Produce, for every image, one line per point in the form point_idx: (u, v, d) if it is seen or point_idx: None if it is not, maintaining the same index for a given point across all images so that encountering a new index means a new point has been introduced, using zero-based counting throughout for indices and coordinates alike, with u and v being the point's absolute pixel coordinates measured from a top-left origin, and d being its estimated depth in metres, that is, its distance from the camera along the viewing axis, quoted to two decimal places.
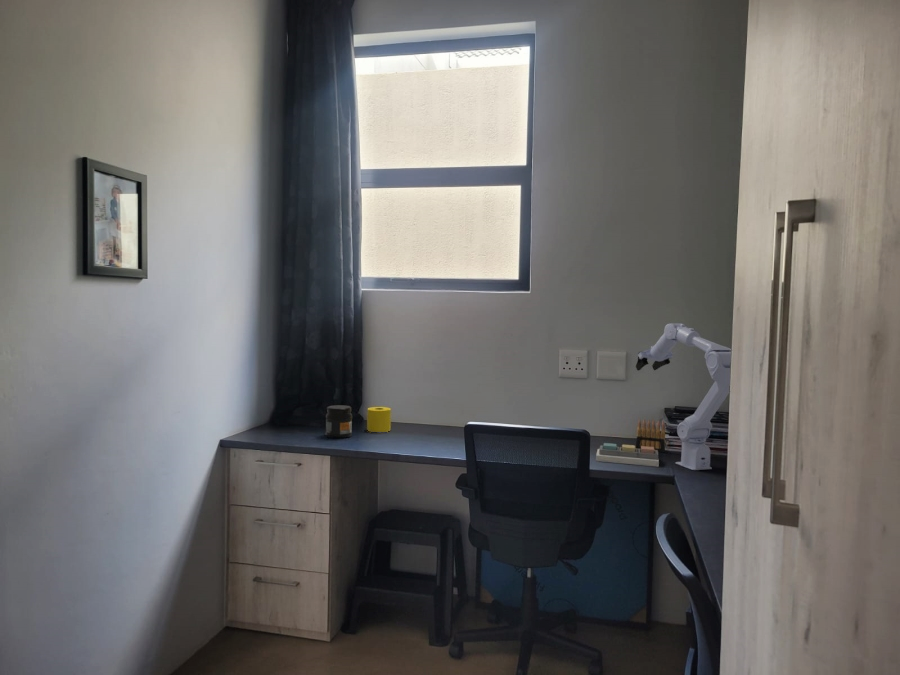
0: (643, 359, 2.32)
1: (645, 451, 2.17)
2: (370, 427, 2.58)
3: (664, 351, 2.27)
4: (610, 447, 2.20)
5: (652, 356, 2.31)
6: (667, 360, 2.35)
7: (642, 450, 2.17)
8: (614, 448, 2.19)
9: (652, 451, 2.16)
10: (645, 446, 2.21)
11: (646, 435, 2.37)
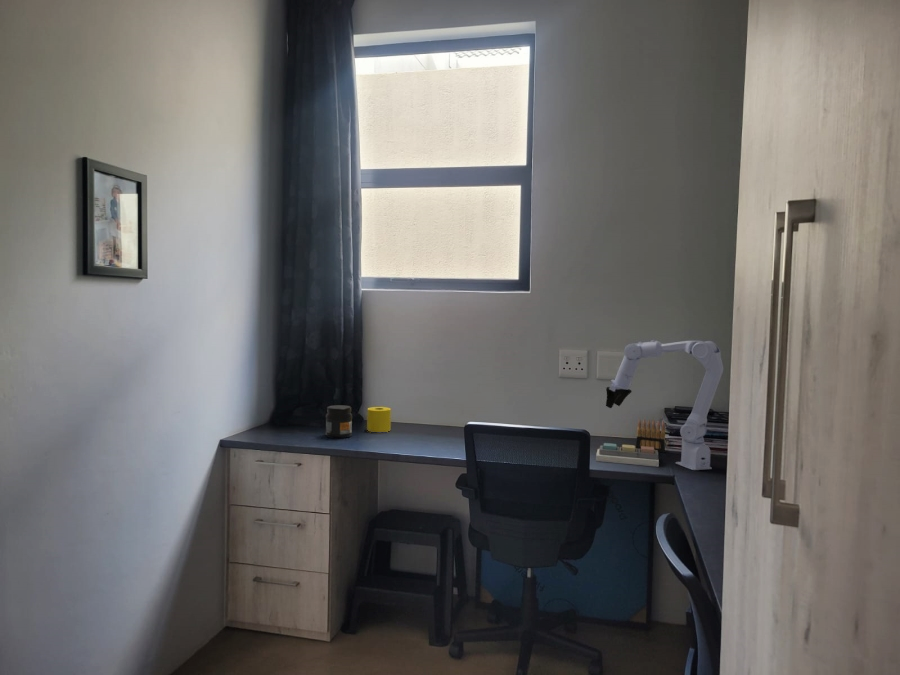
0: (615, 391, 2.26)
1: (645, 451, 2.17)
2: (370, 427, 2.58)
3: (631, 375, 2.27)
4: (610, 447, 2.20)
5: (621, 386, 2.27)
6: (628, 389, 2.34)
7: (642, 450, 2.17)
8: (614, 448, 2.19)
9: (652, 451, 2.16)
10: (645, 446, 2.21)
11: (646, 435, 2.37)
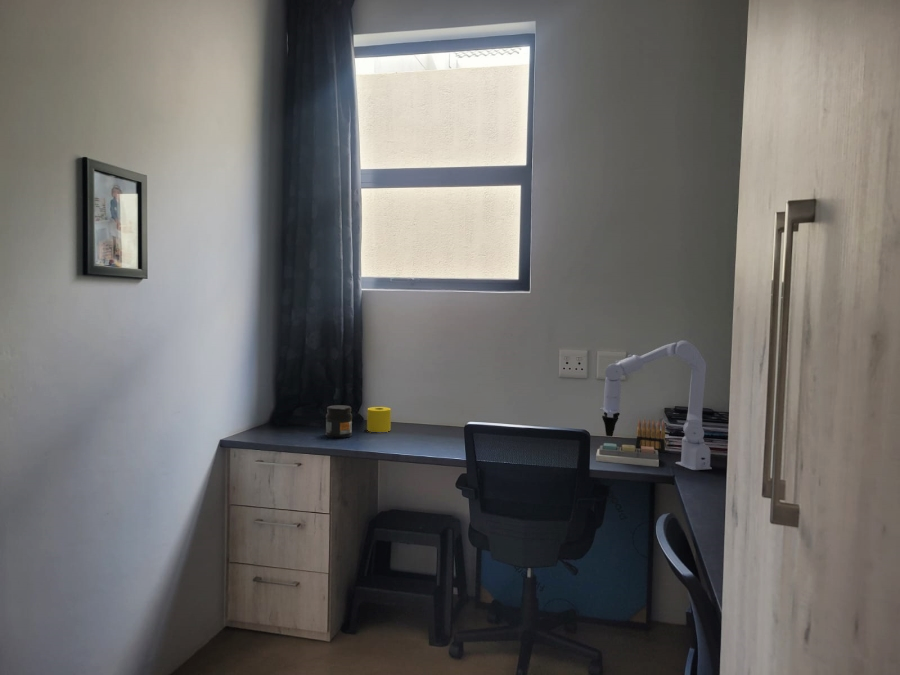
0: (613, 417, 2.17)
1: (645, 451, 2.17)
2: (370, 427, 2.58)
3: (619, 396, 2.20)
4: (610, 447, 2.20)
5: (614, 410, 2.19)
6: None
7: (642, 450, 2.17)
8: (614, 448, 2.19)
9: (652, 451, 2.16)
10: (645, 446, 2.21)
11: (646, 435, 2.37)
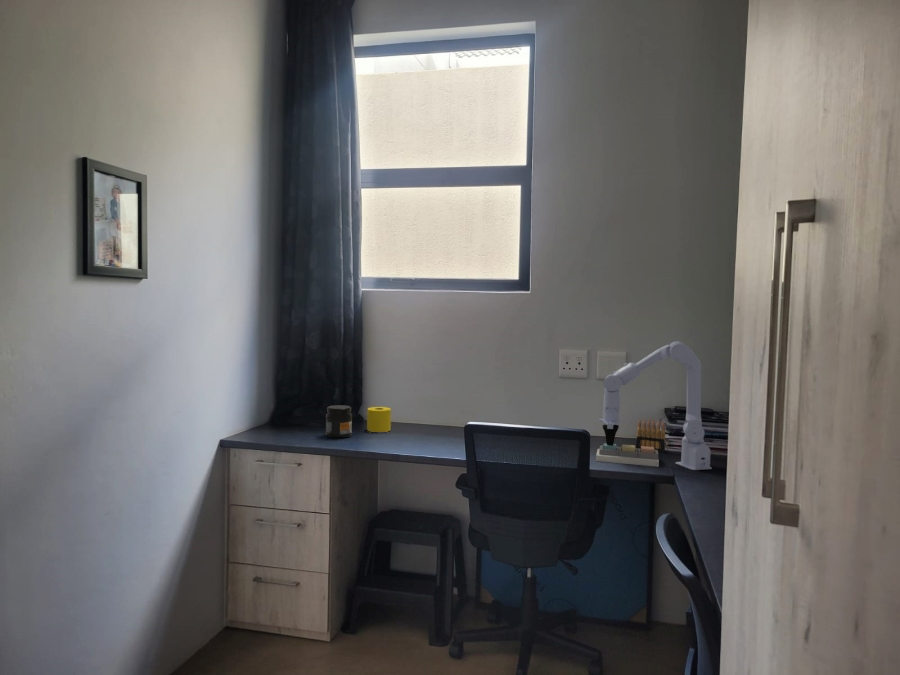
0: None
1: (645, 451, 2.17)
2: (370, 427, 2.58)
3: (618, 407, 2.20)
4: (610, 447, 2.20)
5: (614, 421, 2.19)
6: None
7: (642, 450, 2.17)
8: (614, 448, 2.19)
9: (652, 451, 2.16)
10: (645, 446, 2.21)
11: (646, 435, 2.37)
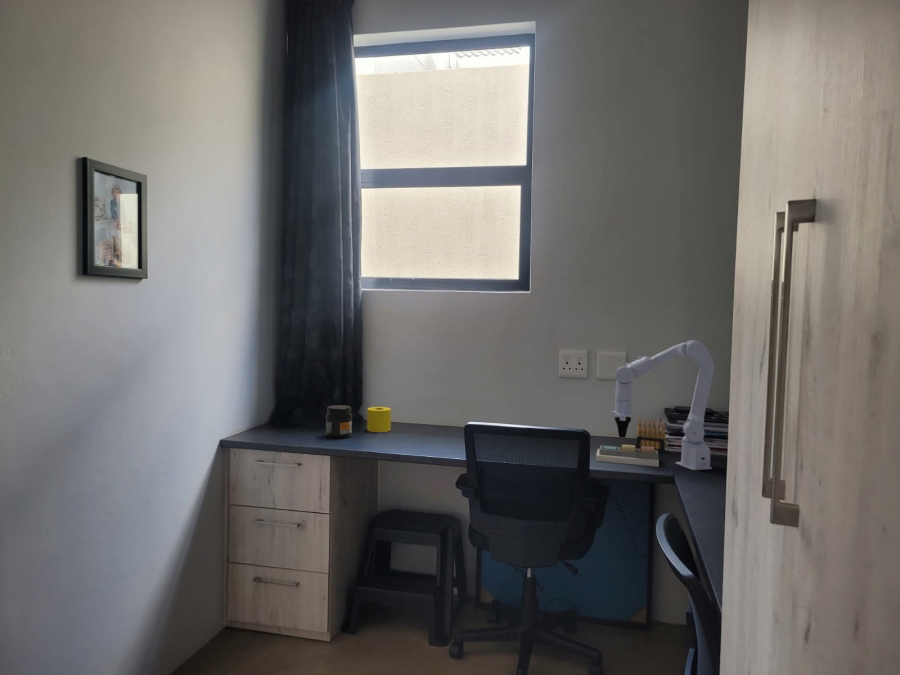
0: None
1: (645, 451, 2.17)
2: (370, 427, 2.58)
3: (631, 399, 2.18)
4: None
5: (626, 413, 2.17)
6: None
7: (642, 450, 2.17)
8: None
9: (652, 451, 2.16)
10: (645, 446, 2.21)
11: (646, 435, 2.37)
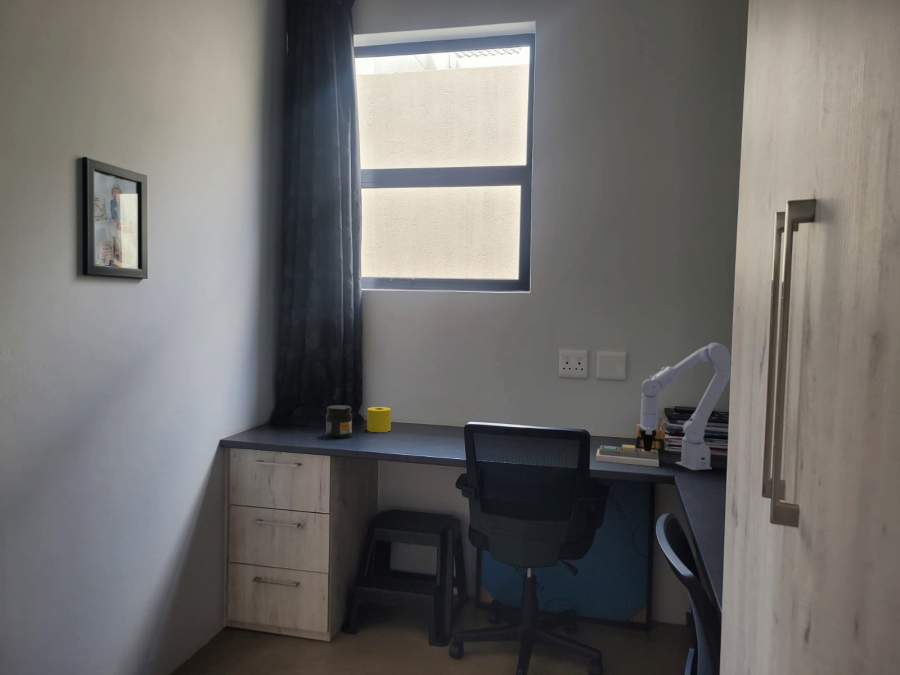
0: None
1: None
2: (370, 427, 2.58)
3: (656, 412, 2.16)
4: None
5: (652, 427, 2.15)
6: None
7: None
8: None
9: None
10: None
11: None
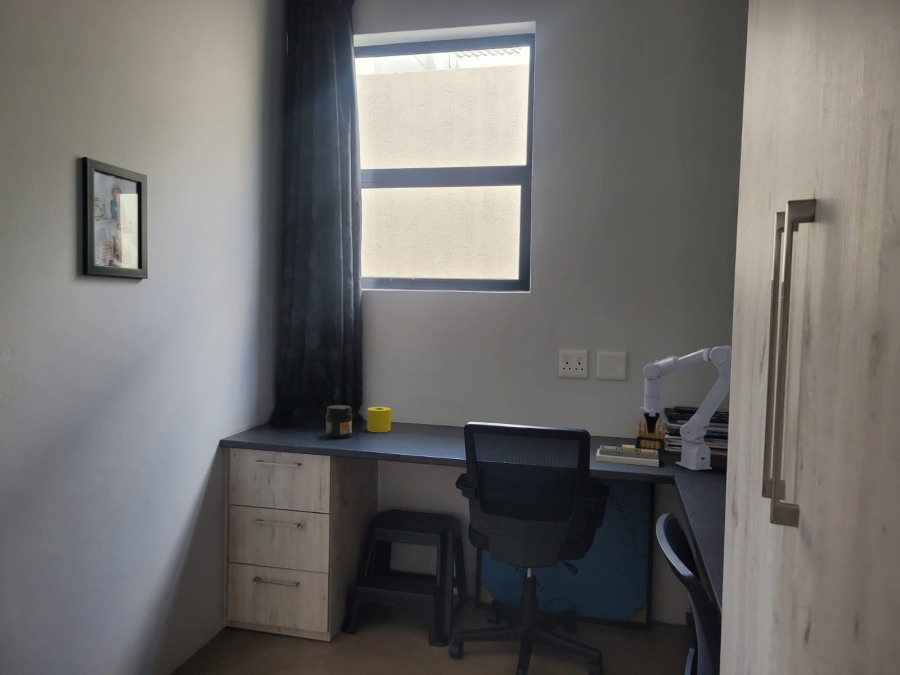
0: None
1: None
2: (370, 427, 2.58)
3: (658, 395, 2.21)
4: None
5: (655, 409, 2.20)
6: None
7: None
8: None
9: None
10: (645, 449, 2.21)
11: (646, 435, 2.37)
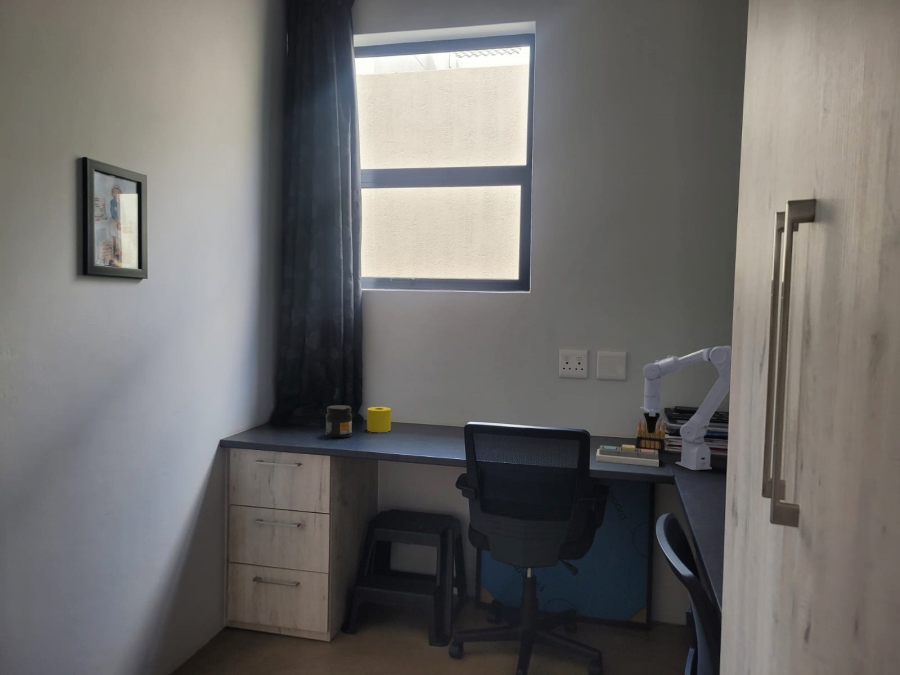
0: None
1: None
2: (370, 427, 2.58)
3: (658, 395, 2.21)
4: None
5: (655, 409, 2.20)
6: None
7: None
8: None
9: None
10: (645, 449, 2.21)
11: (646, 435, 2.37)
